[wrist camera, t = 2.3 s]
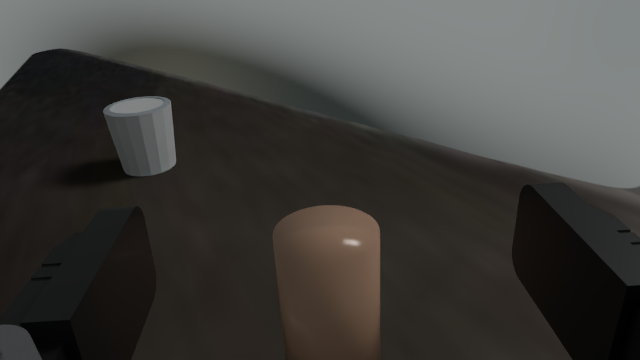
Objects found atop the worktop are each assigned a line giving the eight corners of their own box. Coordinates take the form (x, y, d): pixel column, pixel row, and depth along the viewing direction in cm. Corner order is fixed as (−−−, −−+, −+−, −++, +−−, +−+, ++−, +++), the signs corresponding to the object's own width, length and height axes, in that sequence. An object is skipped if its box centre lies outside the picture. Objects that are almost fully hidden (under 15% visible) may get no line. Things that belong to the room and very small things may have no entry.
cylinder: (399, 389, 28) (402, 232, 24) (327, 443, 25) (316, 277, 21) (340, 339, 32) (333, 195, 27) (272, 382, 29) (252, 229, 25)
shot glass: (103, 173, 56) (87, 112, 53) (148, 150, 62) (135, 93, 58) (152, 183, 53) (138, 118, 50) (194, 157, 59) (184, 97, 56)
